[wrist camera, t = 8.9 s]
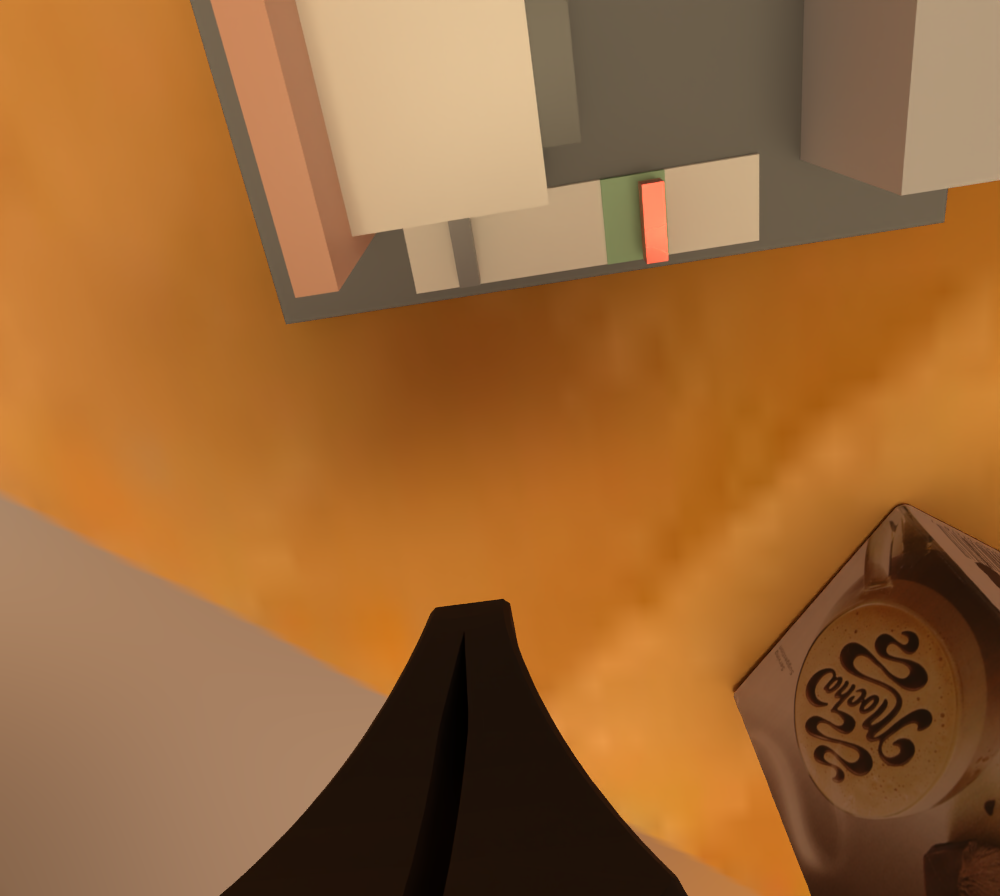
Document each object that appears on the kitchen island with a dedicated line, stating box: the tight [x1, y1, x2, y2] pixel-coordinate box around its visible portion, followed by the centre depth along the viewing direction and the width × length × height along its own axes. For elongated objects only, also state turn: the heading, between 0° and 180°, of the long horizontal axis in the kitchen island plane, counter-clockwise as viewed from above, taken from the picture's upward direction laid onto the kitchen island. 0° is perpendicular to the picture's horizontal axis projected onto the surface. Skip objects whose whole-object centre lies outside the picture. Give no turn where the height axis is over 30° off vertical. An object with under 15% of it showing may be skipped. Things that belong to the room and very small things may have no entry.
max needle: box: [638, 178, 668, 264], centre depth 18 cm, size 1×2×1 cm, turn 9°
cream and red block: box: [210, 0, 581, 298], centre depth 15 cm, size 6×8×5 cm
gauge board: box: [190, 0, 1000, 324], centre depth 15 cm, size 16×10×6 cm, turn 99°
